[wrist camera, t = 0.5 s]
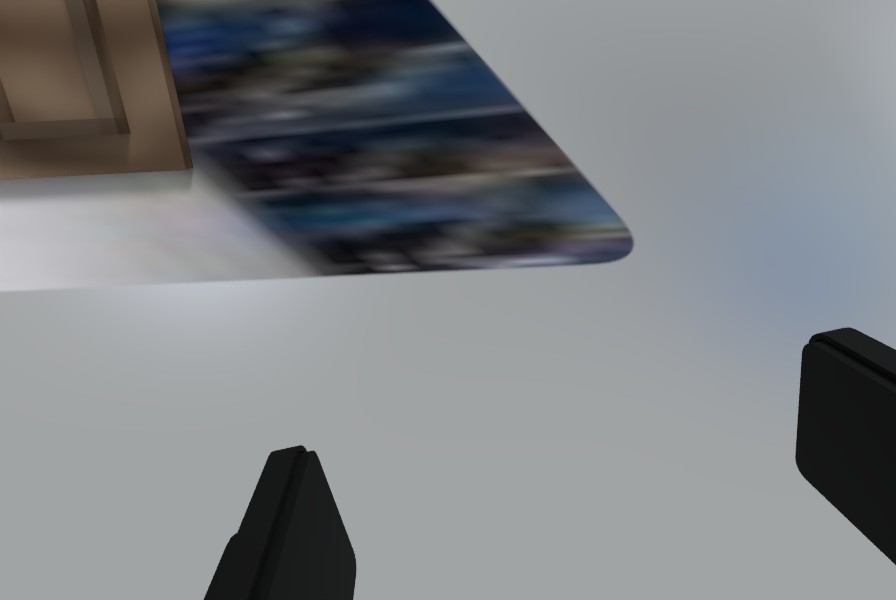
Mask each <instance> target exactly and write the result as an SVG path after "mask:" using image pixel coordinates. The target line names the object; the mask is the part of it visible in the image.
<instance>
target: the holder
mask: <svg viewBox="0 0 896 600" xmlns="http://www.w3.org/2000/svg"><path fill="white" fill-rule="evenodd" d="M190 168H193V165H192V160H191V156H190V151H189V147H188V142H187V138H186V133H185V129H184V124H183V120H182V115H181V111H180V106H179V102H178V97H177V93H176V88H175V84H174V79H173V75H172V70H171V66H170V61H169V57H168V52H167V48H166V43H165V39H164V34H163V30H162V25H161V21H160V16H159V12H158V7H157V3H156V0H0V179H18V178H37V177H56V176H75V175H95V174H114V173H133V172H152V171H171V170H187V169H190Z"/></svg>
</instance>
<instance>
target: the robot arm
mask: <svg viewBox="0 0 896 600" xmlns="http://www.w3.org/2000/svg"><path fill="white" fill-rule="evenodd" d="M795 457H796V464H797V467H798V469H799V471H800V472H801V474H802V475H803V477H804V478H805V479H806V480H807V481H808V482H809V483H810V484H811V485H812V486H813V487H814V488H816V489H817V490H818V491H819V492H820V493H821V494H822V495H823V496H824V497H825V498H826V499H827V500H828V501H829V502H830V503H831V504H832V505H833V506H834V507H835V508H837V509H838V510H839V511H840V512H841V513H842V514H843V515H844V516H845V517H846V518H847V519H848V520H849V521H850V522H851V523H852V524H853V525H854V526H855V527H856V528H857V529H859V530H860V531H861V532H862V533H863V534H864V535H865V536H866V537H867V538H868V539H869V540H870V541H871V542H872V543H873V544H874V545H875V546H876V547H877V548H879V549H880V550H881V551H882V552H883V553H884V554H885V555H886V556H887V557H888V558H889V559H890V560H891V561H892V562H893V563H894V564H895V565H896V350H895V349H893V348H891V347H889V346H887V345H885V344H883V343H881V342H879V341H877V340H875V339H873V338H871V337H869V336H867V335H865V334H863V333H862V332H860V331H858V330H856V329H853V328H841V329H837V330H832V331H827V332H823V333H819V334H815V335H813V336H812V337H811V339H810V340H809V344H807V345H805V346H804V348H803V351H802V362H801V378H800V394H799V410H798V425H797V441H796V456H795ZM355 579H356V559H355V554H354V551H353V548H352V546H351V543H350V540H349V538H348V535H347V532H346V530H345V527H344V525H343V522H342V519H341V516H340V514H339V511H338V508H337V506H336V503H335V501H334V498H333V495H332V493H331V490H330V488H329V485H328V482H327V479H326V477H325V474H324V472H323V469H322V466H321V463H320V461H319V459H318V456H317V454H316V452H315V451H309V452H307V450H306V449H305V448H304V446H301V445H300V446H295V447H291V448H286V449H281V450H277V451H273V452H271V453H270V455H269V457H268V459H267V462H266V464H265V466H264V469H263V471H262V474H261V476H260V479H259V481H258V484H257V486H256V489H255V491H254V493H253V496H252V498H251V501H250V503H249V506H248V508H247V511H246V513H245V516H244V518H243V520H242V523H241V525H240V528H239V530H238V533H236V534H235V535H234V536H232V537H231V538H230V540H229V542H228V544H227V546H226V548H225V550H224V553H223V555H222V557H221V560H220V562H219V564H218V567H217V569H216V572H215V574H214V576H213V579H212V581H211V584H210V586H209V588H208V591H207V593H206V595H205V598H204V600H353V596H354V588H355Z"/></svg>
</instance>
